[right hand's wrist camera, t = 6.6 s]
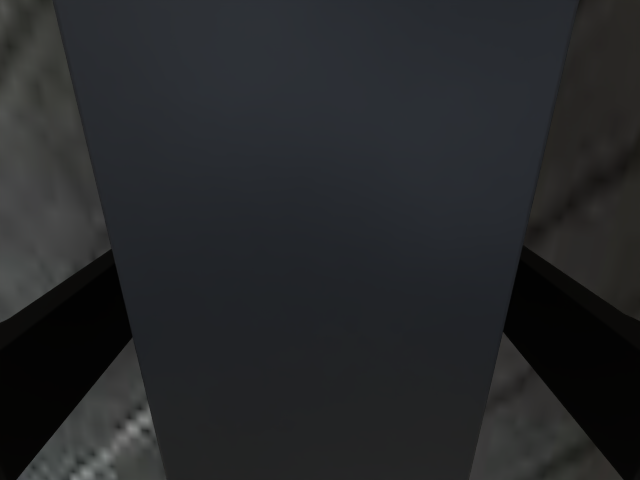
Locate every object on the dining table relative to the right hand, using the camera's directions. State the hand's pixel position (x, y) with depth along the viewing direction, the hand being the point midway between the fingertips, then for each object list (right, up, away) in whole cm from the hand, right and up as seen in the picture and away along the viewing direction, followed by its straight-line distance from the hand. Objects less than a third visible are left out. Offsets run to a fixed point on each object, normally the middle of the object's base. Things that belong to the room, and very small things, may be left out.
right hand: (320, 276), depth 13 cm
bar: (0, +10, -2) cm, 11 cm away
